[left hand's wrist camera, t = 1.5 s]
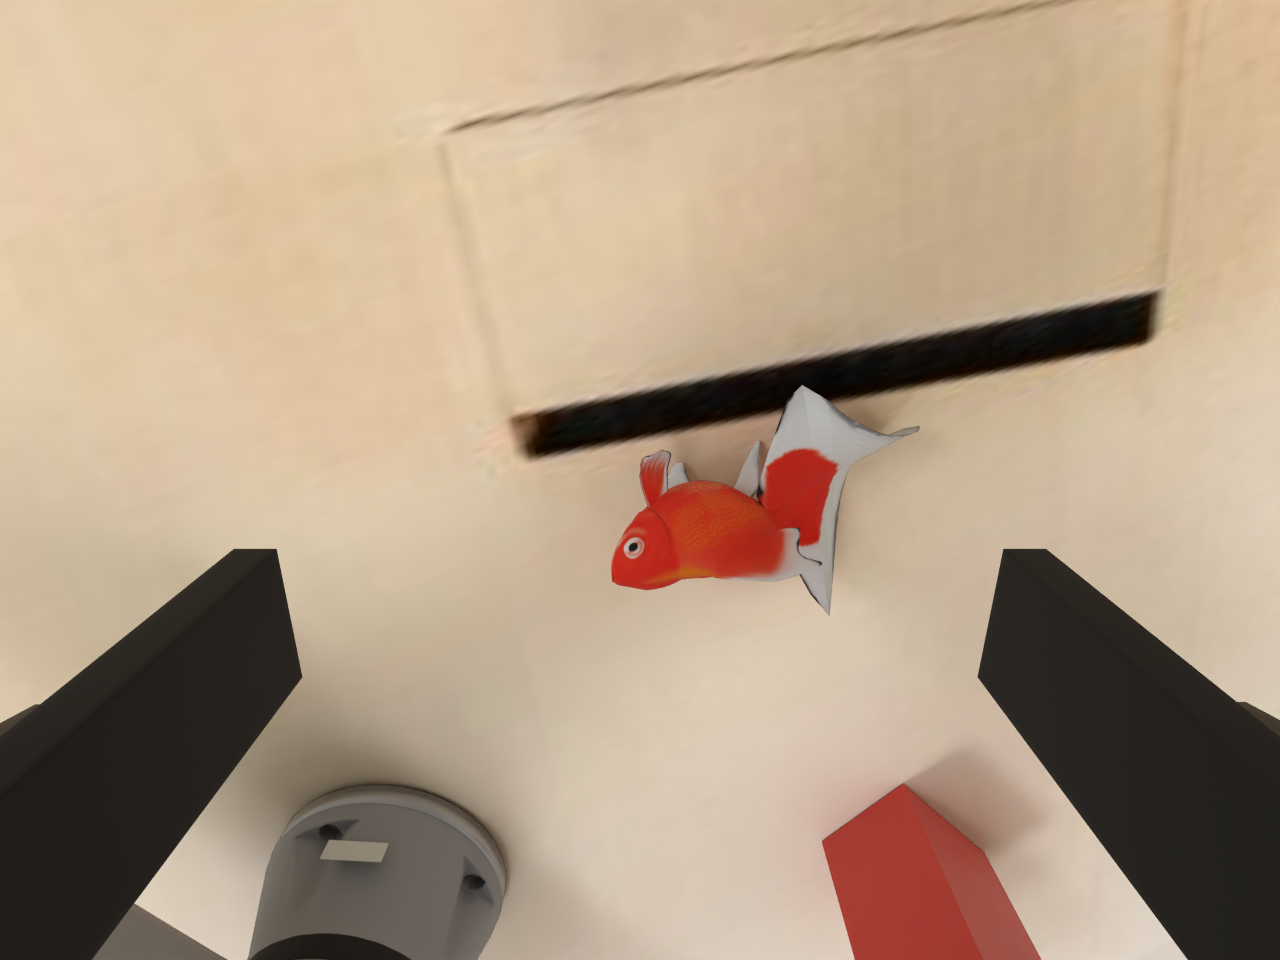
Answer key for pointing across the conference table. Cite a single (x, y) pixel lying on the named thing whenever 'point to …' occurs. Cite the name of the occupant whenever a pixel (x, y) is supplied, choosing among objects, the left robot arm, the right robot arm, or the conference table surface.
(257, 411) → the conference table surface
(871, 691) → the conference table surface
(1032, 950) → the brick
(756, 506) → the fish
